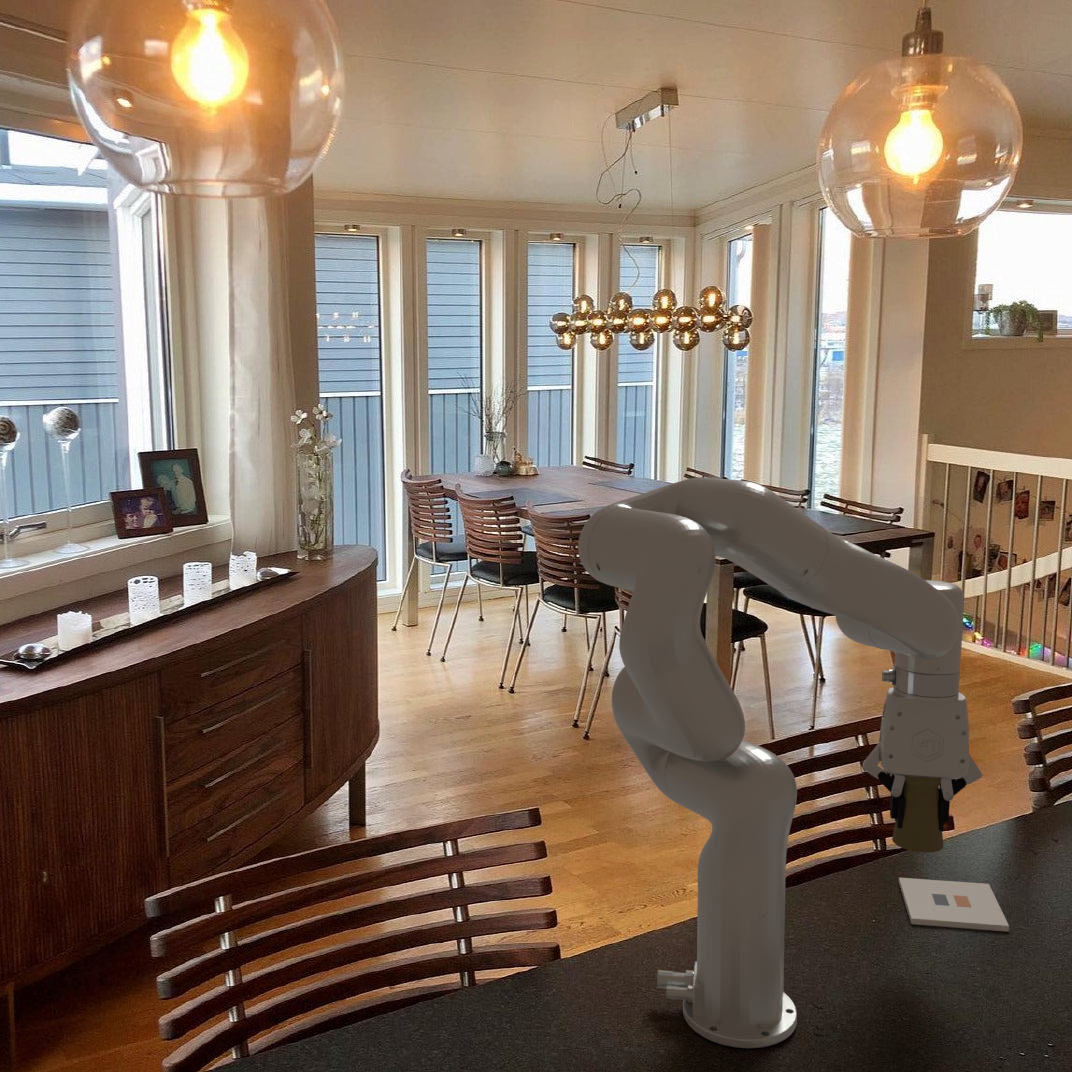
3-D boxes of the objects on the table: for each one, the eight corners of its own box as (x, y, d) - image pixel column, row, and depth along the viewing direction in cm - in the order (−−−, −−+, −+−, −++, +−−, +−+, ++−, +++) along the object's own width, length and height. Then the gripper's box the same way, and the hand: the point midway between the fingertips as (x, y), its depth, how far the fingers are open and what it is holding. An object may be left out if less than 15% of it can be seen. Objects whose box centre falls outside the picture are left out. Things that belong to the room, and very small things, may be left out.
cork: (950, 852, 132) (955, 765, 130) (900, 852, 132) (905, 764, 130) (933, 833, 138) (938, 749, 136) (885, 832, 138) (890, 748, 136)
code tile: (911, 924, 142) (911, 918, 142) (898, 882, 153) (898, 877, 153) (1008, 931, 139) (1009, 925, 139) (988, 889, 151) (988, 883, 151)
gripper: (858, 686, 130) (851, 832, 132) (1006, 694, 127) (996, 843, 129) (852, 671, 137) (846, 809, 140) (992, 678, 134) (983, 819, 136)
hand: (918, 824), depth 134 cm, fingers closed on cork, 4 cm apart
